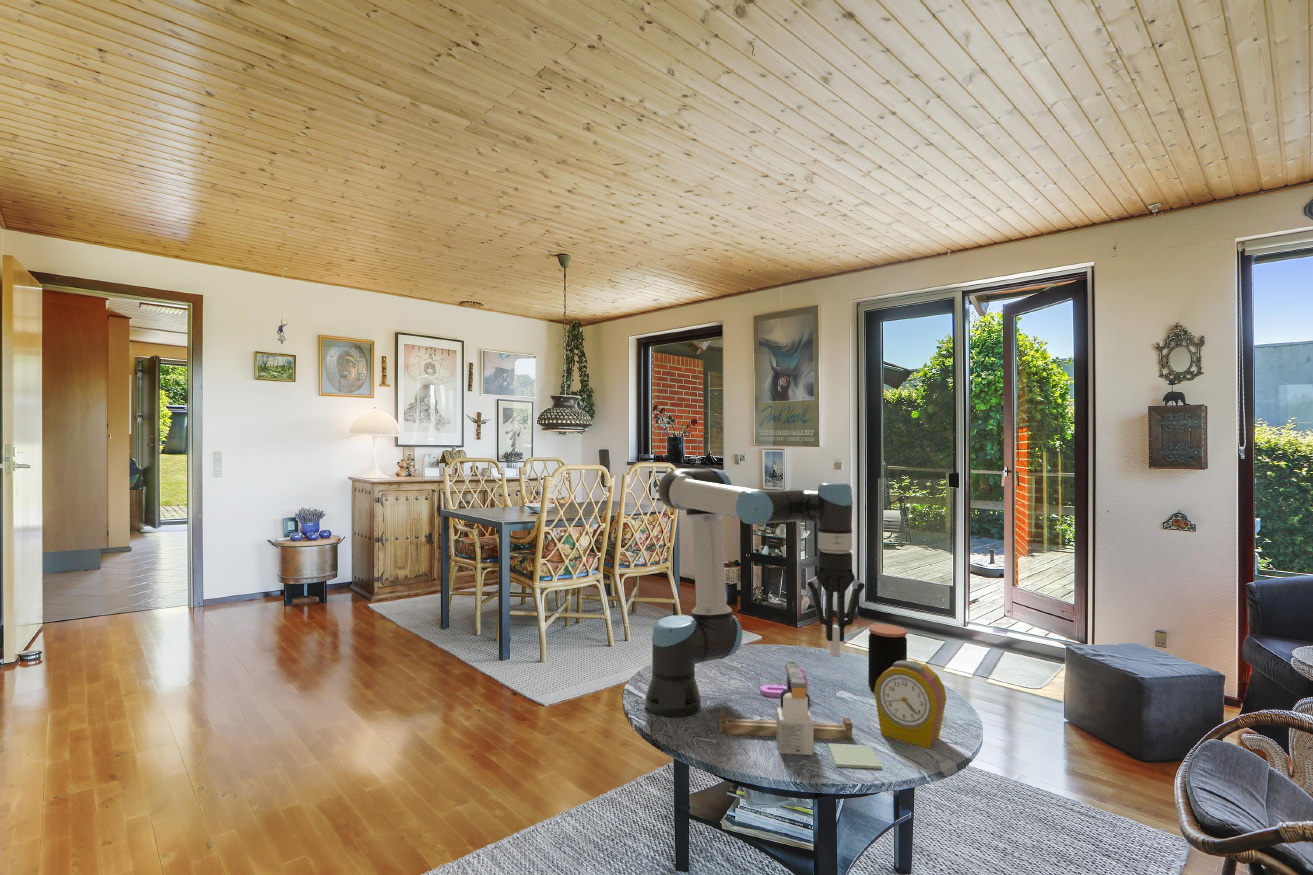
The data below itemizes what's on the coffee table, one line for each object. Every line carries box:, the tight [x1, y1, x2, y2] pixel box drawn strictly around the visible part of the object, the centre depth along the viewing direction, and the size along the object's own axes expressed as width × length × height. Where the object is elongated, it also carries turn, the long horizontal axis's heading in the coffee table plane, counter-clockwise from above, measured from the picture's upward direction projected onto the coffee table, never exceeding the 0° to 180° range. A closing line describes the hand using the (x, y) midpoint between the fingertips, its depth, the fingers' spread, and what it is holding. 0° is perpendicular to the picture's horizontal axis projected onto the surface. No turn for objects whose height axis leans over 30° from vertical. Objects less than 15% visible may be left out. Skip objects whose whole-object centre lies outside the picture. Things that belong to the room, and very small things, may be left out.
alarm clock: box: [873, 660, 947, 749], centre depth 157 cm, size 15×8×18 cm, turn 50°
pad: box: [827, 743, 883, 770], centre depth 146 cm, size 10×10×1 cm
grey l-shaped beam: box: [784, 660, 806, 699], centre depth 151 cm, size 3×15×15 cm, turn 175°
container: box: [776, 689, 814, 756], centre depth 151 cm, size 8×8×13 cm
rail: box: [719, 711, 853, 741], centre depth 158 cm, size 32×3×4 cm, turn 85°
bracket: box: [759, 667, 808, 698], centre depth 184 cm, size 13×6×7 cm, turn 84°
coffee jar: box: [867, 623, 908, 693], centre depth 188 cm, size 11×11×18 cm
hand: (835, 655), depth 145 cm, fingers closed
